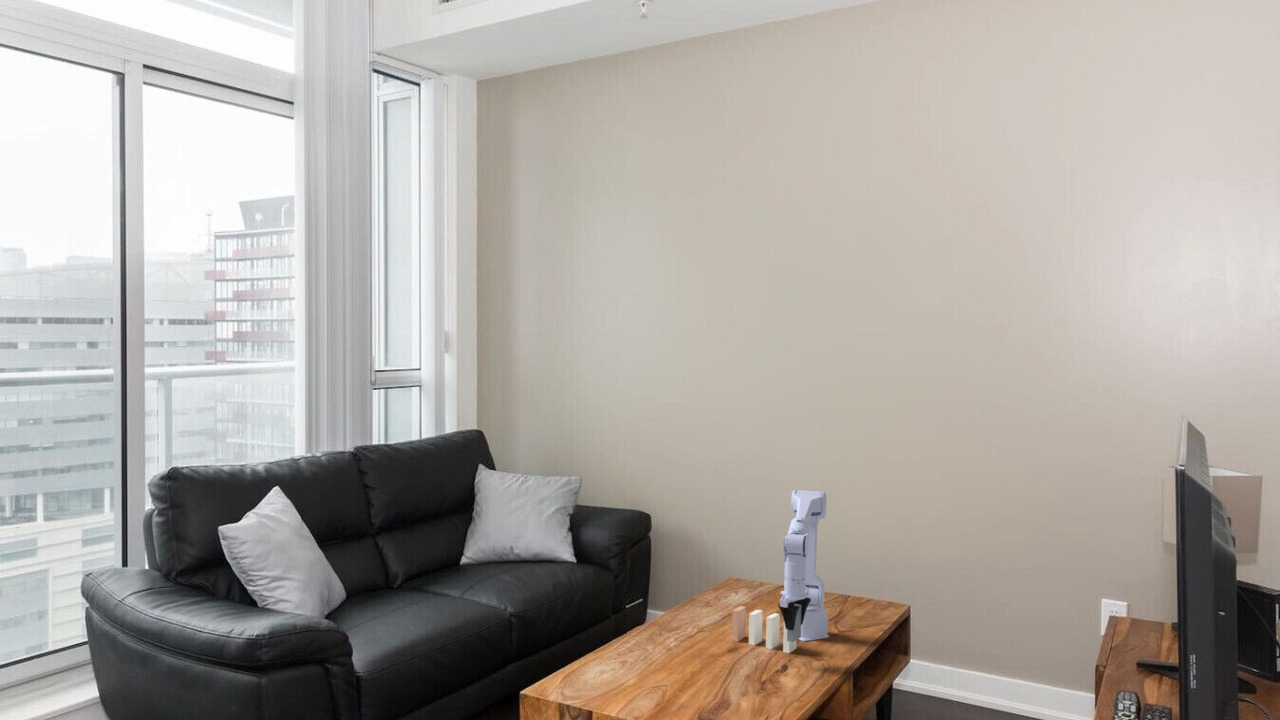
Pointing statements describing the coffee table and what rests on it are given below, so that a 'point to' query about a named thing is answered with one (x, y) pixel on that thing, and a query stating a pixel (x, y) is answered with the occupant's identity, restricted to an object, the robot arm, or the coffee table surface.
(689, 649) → the coffee table surface
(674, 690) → the coffee table surface
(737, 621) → the domino
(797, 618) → the domino
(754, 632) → the domino
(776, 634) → the domino
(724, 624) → the coffee table surface
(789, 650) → the domino
